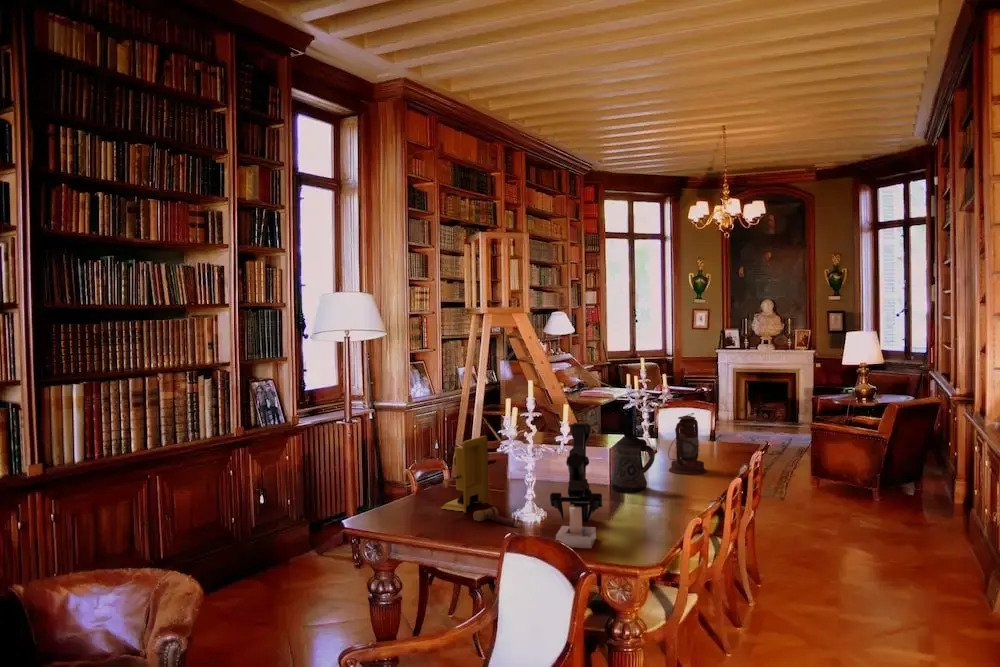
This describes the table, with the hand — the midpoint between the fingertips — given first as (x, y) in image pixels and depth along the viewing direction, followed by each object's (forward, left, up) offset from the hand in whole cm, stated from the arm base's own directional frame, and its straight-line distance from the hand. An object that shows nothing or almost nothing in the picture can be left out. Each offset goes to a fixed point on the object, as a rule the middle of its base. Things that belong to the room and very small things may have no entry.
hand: (575, 520), depth 279 cm
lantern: (-132, +36, -8) cm, 137 cm away
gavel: (-22, -34, -9) cm, 41 cm away
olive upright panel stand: (-44, -55, -8) cm, 71 cm away
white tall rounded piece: (-1, 0, -8) cm, 8 cm away
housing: (-1, 0, -8) cm, 8 cm away
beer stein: (-88, +12, -8) cm, 89 cm away
